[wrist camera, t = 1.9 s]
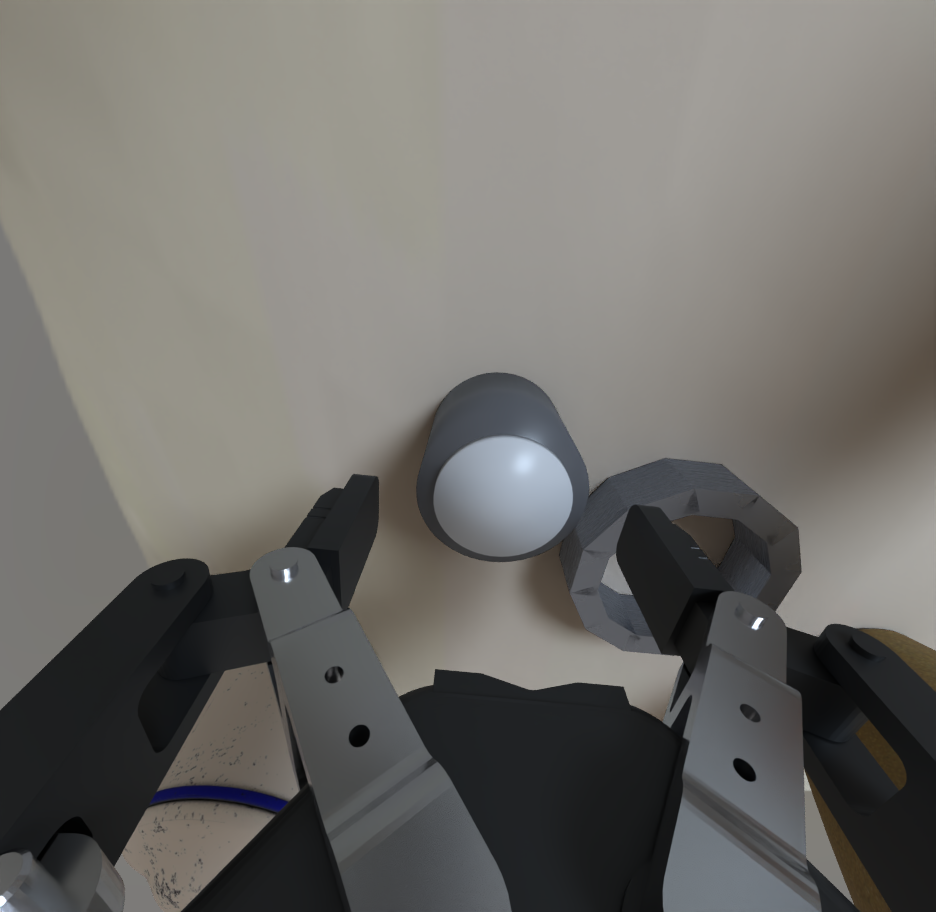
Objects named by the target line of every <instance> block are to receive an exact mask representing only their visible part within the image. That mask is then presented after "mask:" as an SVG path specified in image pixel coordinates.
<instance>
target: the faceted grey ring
mask: <svg viewBox="0 0 936 912" xmlns="http://www.w3.org/2000/svg"><path fill="white" fill-rule="evenodd" d="M634 504H636V505H646V506H655V507H659V508H661V509H662V511H663V512H664V513H665V514H666V516H667V517H668V518H669V520H670V521H673V520H676V519H679V518H683V517H686V516H689V515H698V516H708V517H717V518H727V519H733V525H734V531H735V539H734V540H733V542H732V544H731V546H730V548H729V550H728V552H727V553H726V555H725V557H724V559H723V561H722V563H721V565H720V566H719V567H718V568H717V570H718V571H719V572H720V573H721V575H722V576H723V577H724V578H725V580H726V581H727V582H728V583H729V585H730V586H731V587H732V588H733V589H734V591H735V592H740V593H744V594H747V595H749V596H752V597H754V598H756V599H758V600H760V601H761V602H763V603H765V604H766V605H767V606H769V607H770V608H771V609H773V610H774V611H776V609H777V608H778V606H779V605H780V604H781V602H782V601H783V599H784V598H785V596H786V595H787V593H788V592H789V590H790V589H791V587H792V586H793V584H794V583H795V581H796V580H797V578H798V577H799V575H800V574H801V572H802V571H801V558H800V544H799V531H798V527H797V526H796V525H795V524H793V523H792V522H791V521H790V520H788V519H787V518H786V517H785V516H784V515H782V514H781V513H780V512H779V511H778V510H776V509H775V508H774V507H773V506H771V505H770V504H769V503H768V502H767V501H765V500H764V499H763V498H762V497H761V496H759V495H758V494H757V493H756V492H755V491H753V490H752V489H751V488H750V487H748V486H747V485H746V484H745V483H744V482H742V481H741V480H740V479H739V478H738V477H736V476H735V475H734V474H733V473H731V472H730V471H729V470H728V469H727V468H725V467H724V466H723V465H722V464H714V463H704V462H695V461H686V460H677V459H668V458H665V459H662V460H659V461H656V462H653V463H650V464H647V465H644V466H641V467H638V468H636V469H633V470H630V471H627V472H624V473H621V474H618V475H615V476H612V477H609V478H608V479H607V480H606V481H605V482H604V483H603V484H602V485H601V486H600V487H599V488H597V489H596V490H595V491H594V492H593V493H592V494H591V495H590V496H589V497H588V500H587V505H586V508H585V510H584V513H583V515H582V517H581V519H580V521H579V522H578V524H577V525H576V526H575V528H574V529H573V530H572V532H571V533H570V534H569V535H568V536H567V537H566V538H565V539H563V543H562V546H561V550H560V554H559V556H560V560H561V563H562V567H563V571H564V574H565V578H566V582H567V585H568V589H569V592H570V595H571V597H572V599H573V602H574V604H575V606H576V608H577V611H578V613H579V615H580V618H581V620H582V622H583V624H584V627H585V629H586V630H588V631H590V632H591V633H593V634H595V635H597V636H598V637H600V638H602V639H603V640H605V641H607V642H609V643H610V644H612V645H614V646H616V647H617V648H619V649H621V650H622V651H630V652H640V653H651V654H661V652H660V650H659V648H658V646H657V644H656V642H655V639H654V637H653V635H652V633H651V631H650V629H649V627H648V625H647V623H646V621H645V619H644V616H643V614H642V612H641V610H640V608H639V606H638V604H637V602H636V600H635V598H634V596H633V595H623V594H618V593H617V592H615V591H613V590H612V589H610V588H609V587H607V586H605V585H604V584H602V583H601V580H602V577H603V574H604V571H605V568H606V566H607V563H608V560H609V558H610V557H611V556H612V555H614V554H615V553H616V547H617V542H618V539H619V537H620V534H621V531H622V528H623V525H624V522H625V520H626V517H627V514H628V511H629V509H630V507H631V506H632V505H634ZM661 655H666V654H661ZM672 656H674V655H672Z"/></svg>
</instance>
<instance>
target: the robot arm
mask: <svg viewBox="0 0 936 912" xmlns="http://www.w3.org/2000/svg"><path fill="white" fill-rule="evenodd" d="M378 519H379V480H378V477H377V476H368V475H359V474H353V475H352V476H351V478H350V479H349V481H348V483H347V484H346V486H345V487H344V489H341V488H333V489H331V490H330V491H328V492H326V493H325V494H323V495H322V496H320V498H319V499H318V501H317V502H316V503H315V505H314V506H313V509H311V511H310V512H309V513H308V515H307V518H305V519H304V521H303V522H302V523H301V525H300V526H299V528H298V529H297V531H296V532H295V533H294V535H293V536H292V538H291V539H290V541H289V542H288V543H287V545H286V546H285V548H281V549H277V550H274V551H271V552H269V553H267V554H265V555H264V556H262V557H261V558H259V559H258V560H257V561H256V562H255V563H254V565H253V566H252V568H251V570H246V571H241V572H233V573H226V574H218V575H210V573H209V569H208V566H207V565H206V564H205V563H204V562H202V561H200V560H196V559H176V560H171V561H167V562H164V563H161V564H158V565H156V566H154V567H152V568H150V569H148V570H146V571H145V572H143V573H142V574H140V575H139V576H138V577H136V578H135V579H134V580H133V581H132V582H131V583H130V584H129V585H128V586H127V587H126V588H125V589H124V590H123V591H122V592H121V593H120V594H119V595H118V596H117V597H116V598H115V599H114V600H113V601H112V602H111V603H110V604H109V605H108V606H107V607H106V608H105V609H104V610H103V611H101V613H99V614H98V615H97V616H96V617H95V618H94V619H93V620H92V621H91V622H90V623H89V624H88V625H87V626H86V627H85V628H84V629H83V630H82V631H81V632H80V633H79V634H78V635H77V636H76V637H75V638H74V639H73V640H72V641H71V642H70V643H69V644H68V645H67V646H66V647H65V648H64V649H63V650H62V651H61V652H60V653H59V654H57V655H56V656H55V657H54V659H52V660H51V661H50V662H49V663H48V664H47V665H46V666H45V667H44V668H43V669H42V670H41V671H40V672H39V673H38V674H37V675H36V676H35V677H34V678H33V679H32V680H31V681H30V682H29V683H28V684H27V685H26V686H25V687H24V688H23V689H22V690H21V691H20V692H19V693H18V694H17V695H16V696H15V697H13V698H12V700H10V701H9V702H8V703H7V704H6V705H5V706H4V707H3V708H2V709H1V710H0V912H123V909H124V902H125V888H124V883H123V880H122V878H121V877H120V875H119V873H118V872H117V871H116V869H115V868H114V866H115V864H116V862H117V860H118V859H119V857H120V855H121V854H122V852H123V850H124V848H125V846H126V845H127V843H128V841H129V839H130V838H131V836H132V834H133V832H134V831H135V829H136V827H137V825H138V823H139V822H140V820H141V818H142V816H143V815H144V813H145V811H146V809H147V808H148V806H149V804H150V802H151V800H152V799H153V797H154V795H155V793H156V792H157V790H158V788H159V786H160V785H161V783H162V781H163V779H164V777H165V776H166V774H167V772H168V770H169V769H170V767H171V765H172V763H173V762H174V760H175V758H176V756H177V755H178V753H179V751H180V749H181V747H182V746H183V744H184V742H185V740H186V739H187V737H188V735H189V733H190V732H191V730H192V728H193V726H194V724H195V723H196V721H197V719H198V717H199V716H200V714H201V712H202V710H203V709H204V707H205V705H206V703H207V701H208V700H209V698H210V696H211V694H212V693H213V691H214V689H215V687H216V686H217V684H218V682H219V680H220V679H221V677H222V675H223V673H224V671H226V670H231V669H236V668H241V667H246V666H251V665H256V664H260V663H265V662H266V665H267V668H268V672H269V676H270V680H271V683H272V687H273V691H274V695H275V698H276V702H277V706H278V710H279V714H280V717H281V721H282V725H283V729H284V733H285V737H286V741H287V746H288V750H289V755H290V759H291V763H292V767H293V771H294V775H295V779H296V783H297V787H298V790H299V792H298V793H297V794H296V795H295V796H294V797H293V798H292V799H291V800H290V801H289V802H288V803H287V804H286V805H285V806H284V807H283V808H282V809H281V810H280V811H279V812H278V813H277V814H276V815H275V816H274V817H273V818H272V819H271V820H270V821H269V822H268V823H267V825H266V826H265V827H264V828H263V829H262V830H261V831H260V832H259V833H258V834H257V835H256V836H255V837H254V838H253V839H252V840H251V841H250V842H249V843H248V844H247V845H246V846H245V847H244V848H243V849H242V850H241V851H240V852H239V853H238V854H237V855H236V856H235V857H234V858H233V859H232V860H231V861H230V862H229V863H228V864H227V865H226V866H225V867H224V868H223V869H222V870H221V871H220V872H219V873H218V874H217V875H216V876H215V877H214V878H213V879H212V880H211V881H210V882H209V883H208V884H207V885H206V886H205V887H204V888H203V889H202V890H201V891H200V892H199V894H198V895H197V896H196V897H195V898H194V899H193V900H192V901H191V902H190V903H189V904H188V905H187V906H186V907H185V908H184V909H183V910H182V911H181V912H861V911H859V910H858V909H857V908H856V907H855V906H854V905H853V904H852V903H851V902H850V901H849V900H848V899H847V898H846V897H845V896H844V895H843V894H842V893H841V892H840V891H839V890H838V889H837V888H836V887H835V886H834V885H833V884H832V883H831V882H830V881H829V880H828V879H827V878H826V877H825V876H823V874H822V873H820V872H819V870H817V869H816V868H815V867H814V866H813V865H812V864H811V863H810V862H809V861H808V860H807V859H806V835H805V798H804V769H805V770H806V772H807V774H808V775H809V777H810V779H811V780H812V782H813V783H814V785H815V787H816V788H817V790H818V792H819V793H820V795H821V797H822V798H823V800H824V801H825V803H826V805H827V806H828V808H829V810H830V811H831V813H832V815H833V816H834V818H835V820H836V821H837V823H838V824H839V826H840V828H841V829H842V831H843V833H844V834H845V836H846V838H847V839H848V841H849V843H850V844H851V846H852V847H853V849H854V851H855V852H856V854H857V856H858V857H859V859H860V861H861V862H862V864H863V866H864V867H865V869H866V870H867V872H868V874H869V875H870V877H871V879H872V880H873V882H874V884H875V885H876V887H877V889H878V890H879V892H880V893H881V895H882V897H883V898H884V900H885V902H886V903H887V905H888V907H889V908H890V910H891V912H936V692H935V691H934V690H933V689H932V688H931V687H930V686H929V685H928V684H927V683H926V682H925V681H924V680H923V679H922V678H921V677H920V676H919V675H918V674H917V673H916V672H915V671H914V670H913V669H912V668H910V667H909V666H908V665H907V664H906V663H905V662H904V661H903V660H902V659H901V658H900V657H899V656H898V655H897V654H896V653H895V652H894V651H892V650H891V649H890V648H889V647H887V646H886V645H885V644H883V643H882V642H880V641H879V640H877V639H875V638H874V637H872V636H870V635H868V634H866V633H864V632H862V631H860V630H858V629H855V628H853V627H849V626H846V625H841V624H831V625H828V626H827V627H826V628H825V629H824V631H823V632H822V633H821V635H820V636H819V637H816V636H813V635H810V634H807V633H804V632H800V631H797V630H794V629H791V628H788V627H786V625H785V623H784V621H783V620H782V619H781V617H780V616H779V615H778V614H777V613H776V612H775V611H774V610H773V609H771V608H770V607H769V606H767V605H766V604H765V603H763V602H761V601H760V600H758V599H756V598H754V597H752V596H749V595H747V594H744V593H740V592H735V591H734V589H733V588H732V587H731V586H730V585H729V583H728V582H727V581H726V580H725V578H724V577H723V576H722V575H721V573H720V572H719V571H718V570H717V568H716V567H715V566H714V565H713V563H712V562H711V561H710V560H708V559H707V558H708V557H707V556H706V555H705V553H704V552H703V551H702V550H700V549H699V548H700V547H699V546H698V545H697V543H696V542H695V541H694V540H693V538H692V537H691V536H690V535H689V534H688V533H686V532H685V531H684V530H682V529H681V528H679V527H678V526H677V525H675V524H672V522H671V521H670V520H669V518H668V517H667V516H666V514H665V513H664V512H663V511H662V509H661V508H659V507H655V506H646V505H636V504H634V505H632V506H631V507H630V509H629V511H628V514H627V517H626V520H625V522H624V525H623V528H622V531H621V534H620V537H619V539H618V542H617V547H616V558H617V562H618V564H619V566H620V569H621V571H622V573H623V575H624V577H625V579H626V581H627V583H628V585H629V587H630V589H631V591H632V594H633V596H634V598H635V600H636V602H637V604H638V606H639V608H640V610H641V612H642V614H643V616H644V619H645V621H646V623H647V625H648V627H649V629H650V631H651V633H652V635H653V637H654V639H655V642H656V644H657V646H658V648H659V650H660V652H661V654H666V655H676V656H681V657H682V659H683V663H682V665H681V667H680V669H679V671H678V674H677V678H676V681H675V684H674V687H673V691H672V694H671V697H670V700H669V703H668V707H667V710H666V713H665V716H664V720H663V722H662V721H660V720H659V719H657V718H655V717H654V716H652V715H650V714H649V713H647V712H645V711H643V710H641V709H639V708H637V707H634V706H632V705H630V704H629V701H628V698H627V696H626V693H625V690H624V687H620V686H609V685H599V684H588V683H572V684H567V685H561V686H556V687H550V688H545V689H539V690H528V689H525V688H522V687H519V686H516V685H513V684H510V683H507V682H505V681H502V680H499V679H496V678H493V677H490V676H487V675H484V674H481V673H470V672H459V671H449V670H438V669H435V676H434V685H431V686H426V687H422V688H419V689H415V690H412V691H410V692H408V693H406V694H404V695H401V696H399V697H398V695H397V693H396V691H395V689H394V688H393V686H392V684H391V682H390V680H389V678H388V676H387V674H386V672H385V671H384V669H383V667H382V665H381V663H380V661H379V659H378V657H377V656H376V654H375V652H374V650H373V648H372V646H371V644H370V642H369V640H368V639H367V637H366V635H365V633H364V631H363V629H362V627H361V625H360V624H359V622H358V620H357V618H356V616H355V614H354V613H353V611H352V610H351V609H350V608H348V607H349V604H350V601H351V599H352V596H353V594H354V591H355V589H356V586H357V583H358V581H359V578H360V576H361V573H362V570H363V568H364V565H365V563H366V560H367V558H368V555H369V552H370V550H371V547H372V545H373V542H374V539H375V537H376V533H377V528H378ZM868 720H869V721H870V722H871V723H872V724H873V725H874V727H875V728H876V729H877V730H878V731H879V733H880V734H881V735H882V736H883V738H884V739H885V740H886V741H887V742H888V744H889V745H890V746H891V747H892V749H893V750H894V751H895V752H896V753H897V755H898V756H899V758H900V759H901V761H902V763H903V765H904V768H905V771H906V784H905V786H904V787H903V788H902V789H901V790H898V788H897V787H896V786H895V784H894V783H893V782H892V781H891V779H890V778H889V777H888V775H887V774H886V773H885V771H884V770H883V769H882V768H881V766H880V765H879V764H878V762H877V761H876V760H875V758H874V757H873V756H872V754H871V753H870V752H869V751H868V749H867V748H866V747H865V745H864V744H863V743H862V741H861V740H860V739H859V738H858V736H857V735H856V734H855V733H856V732H857V731H858V730H859V729H860V728H861V727H862V726H863V725H864V724H865V723H866V722H867V721H868Z"/></svg>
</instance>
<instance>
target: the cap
mask: <svg viewBox="0 0 936 912" xmlns="http://www.w3.org/2000/svg"><path fill="white" fill-rule="evenodd" d="M416 490H417V502H418V507H419V510H420V513H421V515H422V517H423V519H424V521H425V523H426V525H427V526H428V528H429V529H430V530H431V532H432V533H433V534H434V535H435V536H436V537H437V538H438V539H439V540H440V541H441V542H443V543H444V544H445V545H447V546H448V547H450V548H451V549H453V550H455V551H457V552H459V553H461V554H463V555H466V556H468V557H471V558H475V559H479V560H484V561H490V562H511V561H517V560H523V559H527V558H531V557H533V556H536V555H539V554H541V553H543V552H545V551H547V550H549V549H551V548H552V547H554V546H555V545H557V544H558V543H560V542H561V541H562V540H563V539H565V538H566V537H567V536H568V535H569V534H570V533H571V532H572V530H573V529H574V528H575V526H576V525H577V524H578V522H579V521H580V519H581V517H582V515H583V513H584V510H585V508H586V505H587V500H588V496H589V479H588V474H587V470H586V466H585V464H584V462H583V459H582V457H581V455H580V453H579V451H578V449H577V448H576V446H575V444H574V442H573V440H572V438H571V436H570V435H569V433H568V431H567V429H566V427H565V425H564V423H563V421H562V420H561V418H560V416H559V414H558V412H557V410H556V408H555V406H554V405H553V403H552V401H551V400H550V398H549V397H548V396H547V394H546V393H545V392H544V391H543V390H542V389H541V388H540V387H538V386H537V385H536V384H534V383H533V382H531V381H529V380H527V379H525V378H523V377H520V376H517V375H514V374H508V373H486V374H482V375H478V376H475V377H472V378H470V379H468V380H466V381H464V382H462V383H461V384H459V385H458V386H456V387H455V388H454V389H453V390H452V391H450V392H449V393H448V395H447V396H446V397H445V398H444V399H443V401H442V403H441V404H440V406H439V408H438V410H437V412H436V415H435V419H434V422H433V426H432V429H431V433H430V436H429V440H428V443H427V447H426V450H425V454H424V457H423V461H422V464H421V468H420V471H419V475H418V479H417V487H416Z"/></svg>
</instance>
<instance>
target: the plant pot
mask: <svg viewBox="0 0 936 912" xmlns="http://www.w3.org/2000/svg"><path fill="white" fill-rule="evenodd" d="M858 630H860V631H862V632H864V633H866V634H868V635H870V636H872V637H874V638H875V639H877V640H879V641H880V642H882V643H883V644H885V645H886V646H887V647H889V648H890V649H891V650H892V651H894V652H895V653H896V654H897V655H898V656H899V657H900V658H901V659H902V660H903V661H904V662H905V663H906V664H907V665H908V666H909V667H910V668H912V669H913V670H914V671H915V672H916V673H917V674H918V675H919V676H920V677H921V678H922V679H923V680H924V681H925V682H926V683H927V684H928V685H929V686H930V687H931V688H932V689H933V690H934V691H935V692H936V651H935V650H933V649H931V648H929V647H927V646H925V645H923V644H921V643H919V642H917V641H915V640H913V639H911V638H909V637H907V636H905V635H902V634H900V633H897V632H894V631H890V630H884V629H858ZM855 734H856V735H857V736H858V738H859V739H860V740H861V741H862V743H863V744H864V745H865V747H866V748H867V749H868V751H869V752H870V753H871V754H872V756H873V757H874V758H875V760H876V761H877V762H878V764H879V765H880V766H881V768H882V769H883V770H884V771H885V773H886V774H887V775H888V777H889V778H890V779H891V781H892V782H893V783H894V784H895V786H896V787H897V788H898V790H901V789H902V788H903V787H904V786H905V784H906V771H905V768H904V765H903V763H902V761H901V759H900V758H899V756H898V755H897V753H896V752H895V751H894V750H893V749H892V747H891V746H890V745H889V744H888V742H887V741H886V740H885V739H884V738H883V736H882V735H881V734H880V733H879V731H878V730H877V729H876V728H875V727H874V725H873V724H872V723H871V722H870V721H869V720H868V721H867V722H866V723H865V724H864V725H863V726H862V727H861V728H860V729H859V730H858V731H857V732H856V733H855ZM804 770H805V769H804ZM805 773H806V776H807V779H808V782H809V785H810V788H811V791H812V794H813V796H814V799H815V802H816V805H817V808H818V810H819V813H820V816H821V819H822V821H823V824H824V827H825V830H826V833H827V835H828V838H829V841H830V843H831V846H832V849H833V851H834V854H835V856H836V859H837V862H838V864H839V867H840V869H841V872H842V875H843V877H844V880H845V882H846V885H847V887H848V890H849V892H850V895H851V898H852V900H853V903H854V905H855V907H856V908H857V909H858V910H859V911H861V912H891V910H890V908H889V907H888V905H887V903H886V902H885V900H884V898H883V897H882V895H881V893H880V892H879V890H878V889H877V887H876V885H875V884H874V882H873V880H872V879H871V877H870V875H869V874H868V872H867V870H866V869H865V867H864V866H863V864H862V862H861V861H860V859H859V857H858V856H857V854H856V852H855V851H854V849H853V847H852V846H851V844H850V843H849V841H848V839H847V838H846V836H845V834H844V833H843V831H842V829H841V828H840V826H839V824H838V823H837V821H836V820H835V818H834V816H833V815H832V813H831V811H830V810H829V808H828V806H827V805H826V803H825V801H824V800H823V798H822V797H821V795H820V793H819V792H818V790H817V788H816V787H815V785H814V783H813V782H812V780H811V779H810V777H809V775H808V774H807V772H806V770H805Z"/></svg>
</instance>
